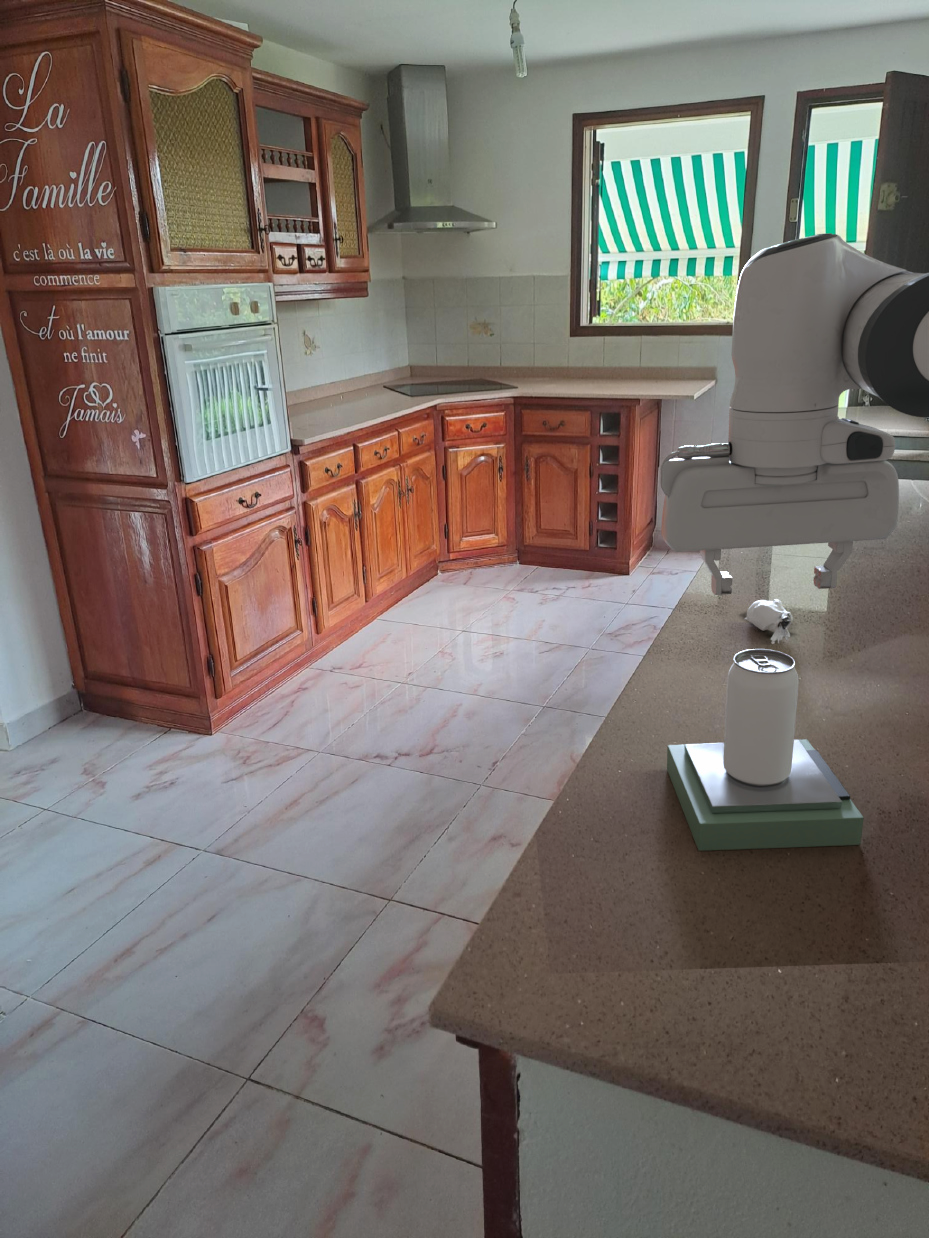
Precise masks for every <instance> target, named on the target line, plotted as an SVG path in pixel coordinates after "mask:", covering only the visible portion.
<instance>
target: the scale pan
mask: <svg viewBox="0 0 929 1238" xmlns="http://www.w3.org/2000/svg"><path fill="white" fill-rule="evenodd" d="M799 740H800V739H794V745H793V756H792V766H791V773H790V775H789V777H788V778H786V779H785V780H784V781H782V782H781V783H778V784H775V785H769V786H755V785H750V784H746V783H743V782H740V781H738V780H736V779H734V778H733V777H731V776H730V775H729V774H728V772H727V771H726V770H725V768H724V766H723V756H724V742H709V743H685V744H684V745H685V749H684V751H685V753H686V755H687V757H688V760H689V762H690V764H691V767H692V769H693V771H694V773H695V776H696V778H697V780H698V782H699V785H700V787H701V789H702V791H703V794H704V796H705V798H706V800H707V803H708V805H709V807H710V810H711V812H712V813H736V812H762V811H787V810H813V809H839V808H841V805H842V801H841V799H840V798H839V797H838V795H837V794H836V792H835V791H834V789H833V788H832V787H831V785H830V784H829V782H828V781H827V779H826V778H825V777H824V775H823V774H822V772H821V771H820V770H819V768H818V767H817V765H816V764H815V762H814V761H813V760H812V758H811V757H810V755H809V754H808V752H807V751H806V750H805V748H804V747H803V745H802V744H801V743H800V741H799Z"/></svg>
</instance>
